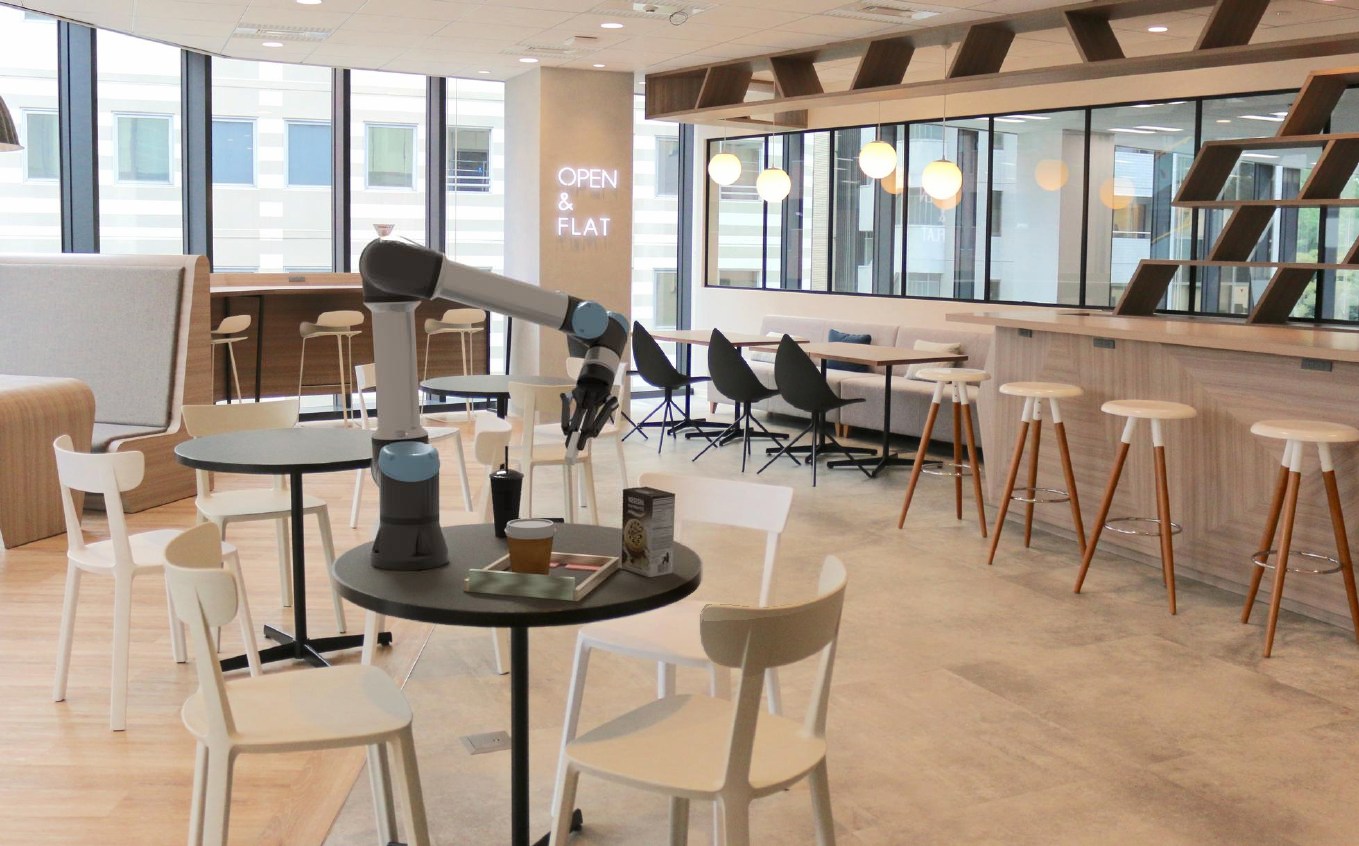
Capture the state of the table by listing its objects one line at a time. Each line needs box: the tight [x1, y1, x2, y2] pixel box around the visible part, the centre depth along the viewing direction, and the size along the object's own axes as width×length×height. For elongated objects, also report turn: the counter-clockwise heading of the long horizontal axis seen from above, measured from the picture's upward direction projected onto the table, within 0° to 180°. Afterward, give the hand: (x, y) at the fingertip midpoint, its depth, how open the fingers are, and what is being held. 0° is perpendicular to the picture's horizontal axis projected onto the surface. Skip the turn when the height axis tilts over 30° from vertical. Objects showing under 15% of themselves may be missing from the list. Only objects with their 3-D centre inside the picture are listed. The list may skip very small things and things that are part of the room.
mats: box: [549, 561, 603, 572], centre depth 236 cm, size 18×4×1 cm, turn 77°
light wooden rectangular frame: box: [463, 551, 620, 602], centre depth 226 cm, size 22×26×4 cm
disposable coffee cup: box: [505, 517, 557, 575], centre depth 220 cm, size 10×10×12 cm
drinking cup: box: [488, 445, 525, 538], centre depth 261 cm, size 8×8×20 cm
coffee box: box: [621, 486, 676, 578], centre depth 233 cm, size 9×6×16 cm
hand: (569, 461), depth 239 cm, fingers closed
